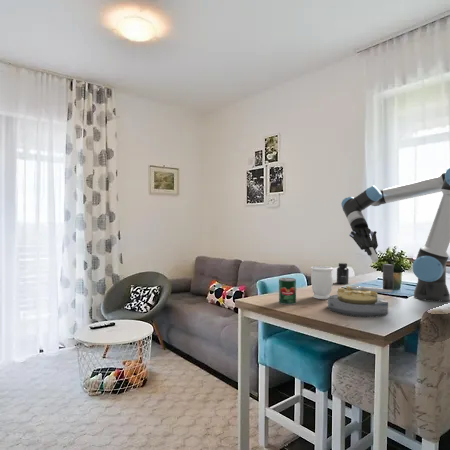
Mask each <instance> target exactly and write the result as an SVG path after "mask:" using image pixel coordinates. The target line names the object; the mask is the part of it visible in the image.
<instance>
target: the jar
mask: <svg viewBox="0 0 450 450" xmlns="http://www.w3.org/2000/svg"><path fill="white" fill-rule="evenodd" d="M310 270H311V274H310V282H311V283H310V284H311V290H312V293H313V296H312V297H313V298H314V299H317V300H328V297H330V296H331V295H330V294H331V293H332V289H333V283H334V278H333V277H334V276H333V272H332V271H333V267H332V266H325V265H316V266H315V265H314V266H311V267H310Z"/></svg>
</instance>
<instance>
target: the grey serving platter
mask: <svg viewBox="0 0 450 450" xmlns="http://www.w3.org/2000/svg"><path fill="white" fill-rule="evenodd" d="M327 309H328V310H329V311H331V313H336V314H338V315H343V316H349V317H356V318H377V317H383V316H387V315H388V314H389V302H388V300H386V299H384V298H382V297H378V301H377V302H376V303H371V304H356V303H348V302H344V301H340V300H338V298H337V294H334V295H332V294H331V295H330V297H328V299H327Z"/></svg>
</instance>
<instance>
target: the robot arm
mask: <svg viewBox="0 0 450 450" xmlns="http://www.w3.org/2000/svg"><path fill="white" fill-rule="evenodd" d="M440 192H441V193H442V197H441V200H440V203H439V206H438V208H437V212H436V214H435V217H434V219H433V222H432V225H431V228H430V230H429V233H428V236H427V239H426V242H425V244H424V245H422V246H421V247H420V248H419V250H418V252H417V255H416V257H415V259H414V261H413V262H412V267H411V268H412V271H413V274H414V276H415V277H417V283H416V286H415V288H414V291H413V297H414V298H415V299H418V300H422V301H429V302H449V301H450V291H449V288H448V286H447V276H446V275H447V274H446V273H447V262H448V260H449V256H450V255H449V254H448V252H447V251H448V248H449V246H450V166H448V167H447V169H446V171H445V172H440V174H438V175H436V176H433V177H429V178H424V179H420V180H416V181H415V180H414V181H412V182H409V183H404V184H400V185H395V186H391V187H387V188H383V189H379V188H378V187H377V186H376V185H371V186H370V187H368V188H366V189H365V190H363V192H361V193H359V194H358V195H357V196H355V197H353V196H348V197H345V198H344V199H342V201H341V204H340V205H341V207H342V211H343V213H344V214H345V215H344V216H345V217H346V219H347V222H348V224H349V225H350V226H349V227H350V229H351V230H352V231H350V234H349V237H351V238H352V240H354V242H355V243H356V245H357V246H358V247H359V248H360V250H361V251H364V252H366V254H367V255H368V256H369V257H370V259H371V261H372V263H377V262H378V261H379V257H378V255H377V254H378V253H377V248H378V247H379V243H378V239H377V234H378V233H377V231H376V230H375V231H372V230H371V229H370V228H369V224H368V223H367V220H366V218H365V216H364V214H363V212H362V211H364V210H365V209H367V208H368V207H370V206H371V207H378V206H381V205H385V204H389V203H394V202H399V201H403V200H408V199H413V198H417V197H421V196H426V195H431V194H437V193H440Z"/></svg>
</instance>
